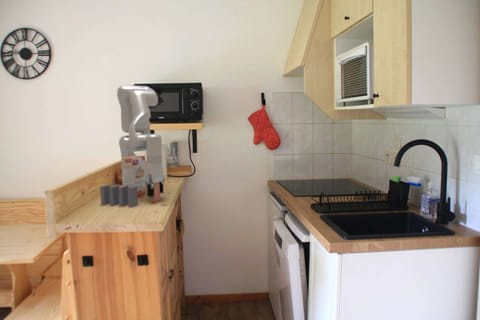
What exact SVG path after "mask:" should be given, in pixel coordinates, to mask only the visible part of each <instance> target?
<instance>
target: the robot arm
mask: <svg viewBox="0 0 480 320" xmlns="http://www.w3.org/2000/svg"><path fill="white" fill-rule="evenodd" d="M116 93H117V95H116V96H117V100H118V103H119V106H120V119H121V121H120V122H121V123H120V124H121V129H122V132H123V133H126V134H128V135H123V136H120V138H119V141H118V145H119V150H120V156H121V173H122V174H121V175H122V177H121V178H122V186H124V166H123V158H127V157H133V156H137V155H136V152H145V154H146V156H145V157H146V163H145V184H146V190H147V191H146V193H147V194H146V195H147V197H150V198H151V197H153V196H154V188H153V185H154V184H155V183H159V184H160V194H163V193H164V184H165V183H164V182H165V175H164V167H163V143H162V141H163V139H162V136H161V135H160V134H156V133H151V122H150V119H151V118H152V117H151V116H152V115H151V110H150V108H149V107H156V106H157V105H158V102H159V97H158V94H157V93H156V91H155V90H154V89H153V88H151V87H149V86H146V85H131V84H130V85H129V84H125V85H120V86H119V87H118V88H117V92H116Z"/></svg>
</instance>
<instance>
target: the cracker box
mask: <svg viewBox="0 0 480 320" xmlns="http://www.w3.org/2000/svg"><path fill="white" fill-rule="evenodd" d="M123 166H124V186H128V188H129V187H132V186H137V194H138V197H140V196H141V195H145V194H146V193H147V191H146V190H147V188H146V184H145V172H146V156H145V155H136V156H133V157H127V158H123Z"/></svg>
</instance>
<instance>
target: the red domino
mask: <svg viewBox="0 0 480 320" xmlns="http://www.w3.org/2000/svg"><path fill="white" fill-rule="evenodd" d="M153 188H154V196H153V197H150V198H151V203H157V202H159V201H161V193H160V184H159V183H155V184H154V185H153Z"/></svg>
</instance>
